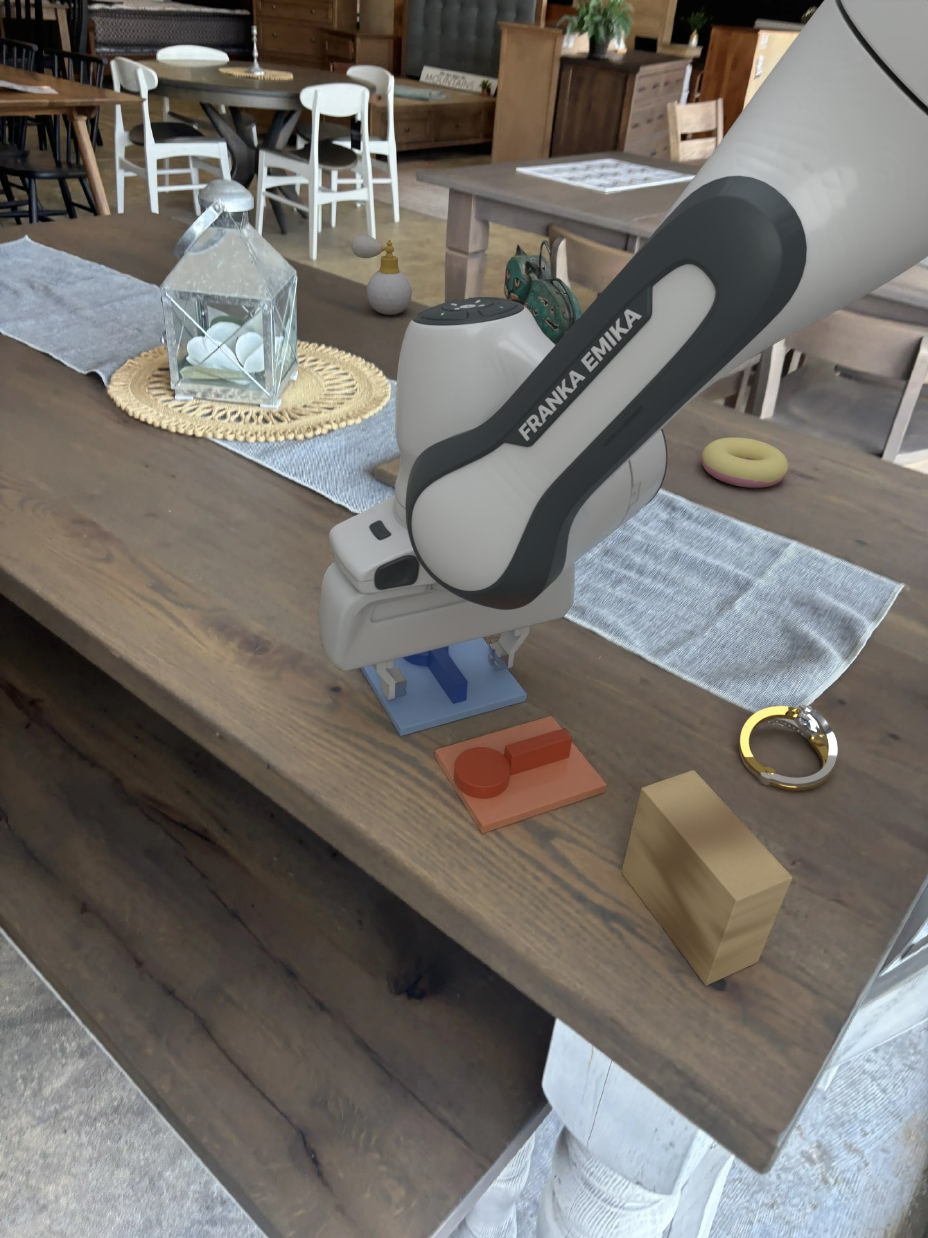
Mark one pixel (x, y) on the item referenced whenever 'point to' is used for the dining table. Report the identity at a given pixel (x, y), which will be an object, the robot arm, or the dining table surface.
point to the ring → (807, 726)
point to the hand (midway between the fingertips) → (448, 679)
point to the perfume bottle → (384, 277)
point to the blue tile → (431, 702)
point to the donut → (744, 462)
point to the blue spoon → (443, 672)
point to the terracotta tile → (525, 779)
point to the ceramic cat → (541, 293)
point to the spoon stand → (703, 876)
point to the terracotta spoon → (507, 763)
